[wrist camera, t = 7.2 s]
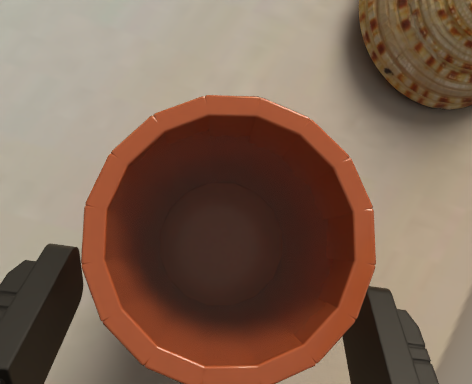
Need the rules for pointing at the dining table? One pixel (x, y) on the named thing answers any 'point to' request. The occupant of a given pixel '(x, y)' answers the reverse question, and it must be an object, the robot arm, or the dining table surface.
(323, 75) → the dining table surface
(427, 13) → the seashell
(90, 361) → the dining table surface
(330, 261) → the cup
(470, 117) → the dining table surface
